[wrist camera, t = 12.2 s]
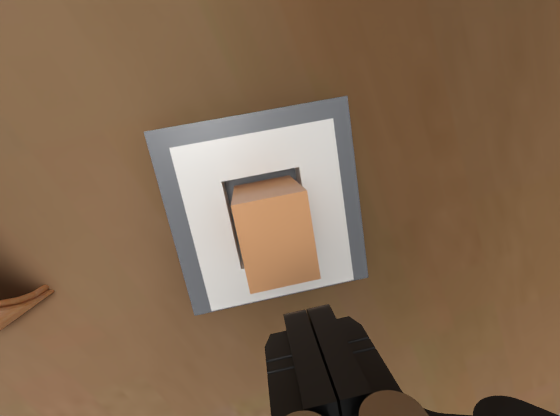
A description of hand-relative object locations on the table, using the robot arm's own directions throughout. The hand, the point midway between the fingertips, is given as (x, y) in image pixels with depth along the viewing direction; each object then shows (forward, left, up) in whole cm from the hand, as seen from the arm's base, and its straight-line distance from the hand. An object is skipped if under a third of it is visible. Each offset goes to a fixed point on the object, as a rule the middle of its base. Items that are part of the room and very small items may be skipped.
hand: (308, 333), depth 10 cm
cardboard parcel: (0, 0, -17) cm, 17 cm away
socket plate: (0, 0, -19) cm, 19 cm away
